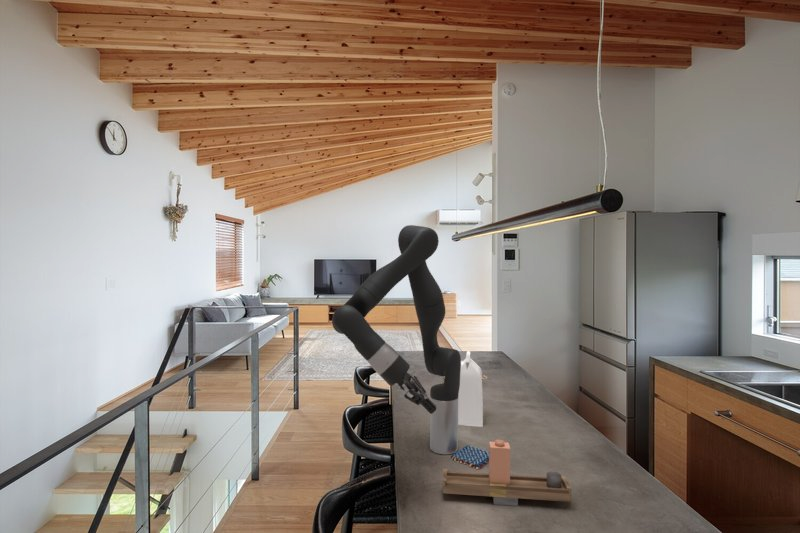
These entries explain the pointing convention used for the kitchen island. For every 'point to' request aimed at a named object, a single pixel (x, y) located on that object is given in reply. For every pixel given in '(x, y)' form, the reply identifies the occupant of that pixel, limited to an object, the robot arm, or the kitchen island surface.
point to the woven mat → (471, 457)
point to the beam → (508, 487)
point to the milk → (470, 394)
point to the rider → (499, 462)
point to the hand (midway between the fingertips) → (434, 410)
